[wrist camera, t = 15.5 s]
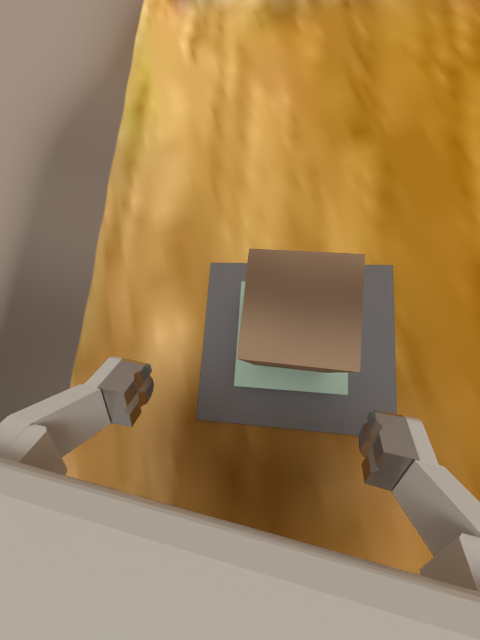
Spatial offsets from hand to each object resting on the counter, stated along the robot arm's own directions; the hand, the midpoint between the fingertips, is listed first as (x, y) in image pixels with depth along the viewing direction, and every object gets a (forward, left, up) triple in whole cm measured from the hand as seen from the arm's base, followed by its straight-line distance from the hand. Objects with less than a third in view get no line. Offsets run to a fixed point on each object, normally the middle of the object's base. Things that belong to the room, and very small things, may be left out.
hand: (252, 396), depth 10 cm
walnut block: (+4, -2, -10) cm, 11 cm away
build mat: (+4, -2, -16) cm, 16 cm away
